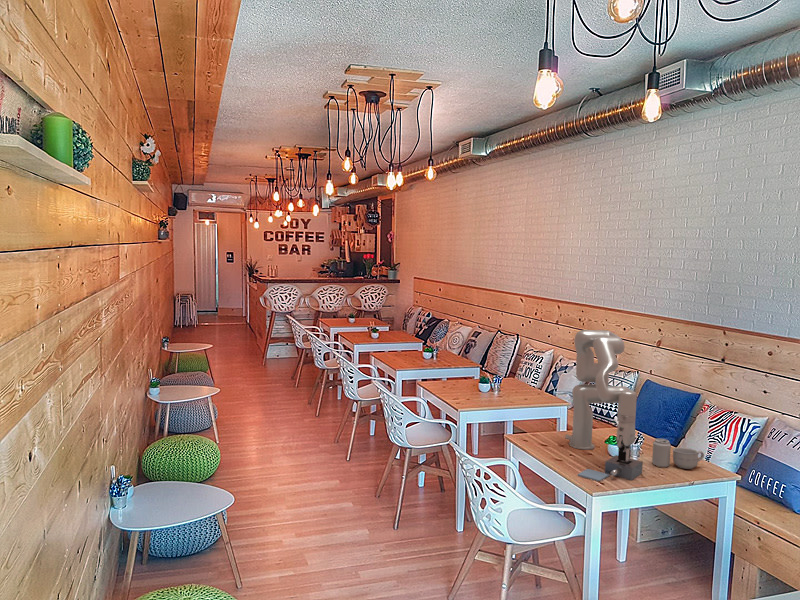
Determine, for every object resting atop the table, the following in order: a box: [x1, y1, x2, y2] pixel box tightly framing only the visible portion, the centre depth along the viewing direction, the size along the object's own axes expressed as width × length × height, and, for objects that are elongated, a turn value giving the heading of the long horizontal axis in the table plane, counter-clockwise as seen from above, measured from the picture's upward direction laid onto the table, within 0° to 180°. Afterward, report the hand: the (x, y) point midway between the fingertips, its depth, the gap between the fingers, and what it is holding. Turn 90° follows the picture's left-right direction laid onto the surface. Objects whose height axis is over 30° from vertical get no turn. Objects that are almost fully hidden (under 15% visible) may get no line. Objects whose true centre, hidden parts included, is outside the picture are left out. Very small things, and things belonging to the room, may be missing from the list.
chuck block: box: [604, 454, 643, 481], centre depth 266 cm, size 12×18×6 cm, turn 138°
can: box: [651, 438, 672, 468], centre depth 281 cm, size 8×8×12 cm
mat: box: [577, 468, 610, 482], centre depth 264 cm, size 10×10×1 cm
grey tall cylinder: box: [619, 443, 631, 464], centre depth 268 cm, size 4×4×14 cm
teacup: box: [672, 447, 705, 470], centre depth 280 cm, size 14×11×8 cm
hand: (624, 458), depth 268 cm, fingers closed on grey tall cylinder, 4 cm apart
